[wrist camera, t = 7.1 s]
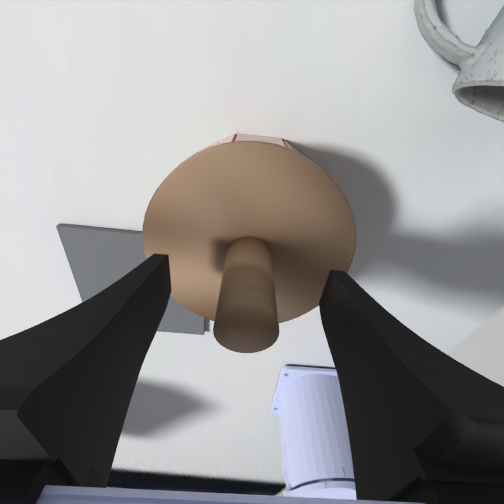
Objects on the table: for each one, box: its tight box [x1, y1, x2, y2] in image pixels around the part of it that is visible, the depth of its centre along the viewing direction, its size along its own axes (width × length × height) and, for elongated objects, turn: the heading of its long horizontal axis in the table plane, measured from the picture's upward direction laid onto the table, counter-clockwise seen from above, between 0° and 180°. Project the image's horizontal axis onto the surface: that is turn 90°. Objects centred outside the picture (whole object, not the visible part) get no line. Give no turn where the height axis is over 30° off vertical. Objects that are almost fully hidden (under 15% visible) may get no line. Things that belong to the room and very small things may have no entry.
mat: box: [56, 224, 205, 335], centre depth 20 cm, size 10×10×1 cm
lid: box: [142, 141, 356, 353], centre depth 12 cm, size 11×11×6 cm
